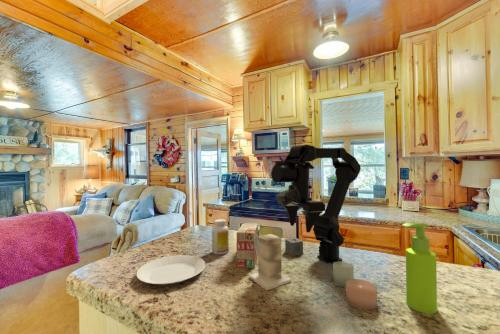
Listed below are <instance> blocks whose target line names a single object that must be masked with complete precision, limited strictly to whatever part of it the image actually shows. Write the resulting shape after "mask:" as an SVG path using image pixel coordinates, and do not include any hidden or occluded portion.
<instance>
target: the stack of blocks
mask: <svg viewBox="0 0 500 334" xmlns="http://www.w3.org/2000/svg"><path fill="white" fill-rule="evenodd" d="M258 236H262V234H261V225H259V224H258V223H245V222H244V223H241V226H240V227H239V228H238V230H236V268H241V269H242V268H243V269H244V268H245V269H246V268H247V269H255V268H256V264H257V263H258Z"/></svg>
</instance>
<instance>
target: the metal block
mask: <svg viewBox="0 0 500 334" xmlns="http://www.w3.org/2000/svg"><path fill="white" fill-rule="evenodd" d="M257 265H258V266H257V268H258V270H257V272H258V276H259V277H261V278H262V279H264V280H265V281H267V282H271V281H274V280H277V279H280V278H282V275H281V273H282V237H280V236H277V235H275V234H272V233H267V234H263V235H262V234H261V236H258V259H257Z"/></svg>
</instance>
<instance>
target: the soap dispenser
mask: <svg viewBox="0 0 500 334" xmlns="http://www.w3.org/2000/svg"><path fill="white" fill-rule="evenodd" d="M401 226H403V227H404V228H407V229H411V228H415V234H413V235H411V247H407V248H405V283H406V284H405V285H406V289H405V290H406V291H405V293H406V295H405V296H406V304H407V305H408V307H410V308H411V309H412V310H414V311H416V312H419V313H422V314H429V315H430V314H431V315H432V314H433V315H434V314H436V313H437V312H438V289H437V285H438V282H437V279H438V278H437V275H438V274H437V273H438V272H437V254H436V252H434V251H431V250H430V238H429V237H428V236H426V235H425V232H426V231H425V228H429V226H430V225H429V224H428V223H424V222H418V221H417V222H416V221H415V222H414V221H412V222H405V223H403V224H401Z"/></svg>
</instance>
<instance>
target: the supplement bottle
mask: <svg viewBox="0 0 500 334" xmlns="http://www.w3.org/2000/svg"><path fill="white" fill-rule="evenodd" d="M213 222H214V223H213V224H214V226H213V227H212V228H211V249H212V250H211V252H212V254H214V255H218V256H221V255H226V254H228V253H229V251H230V249H229V248H230V247H229V246H230V244H229V241H230V240H229V239H230V238H229V236H230V235H229V227H228V226H227V220H226V219H223V218H220V219H215V220H214V221H213Z"/></svg>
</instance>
